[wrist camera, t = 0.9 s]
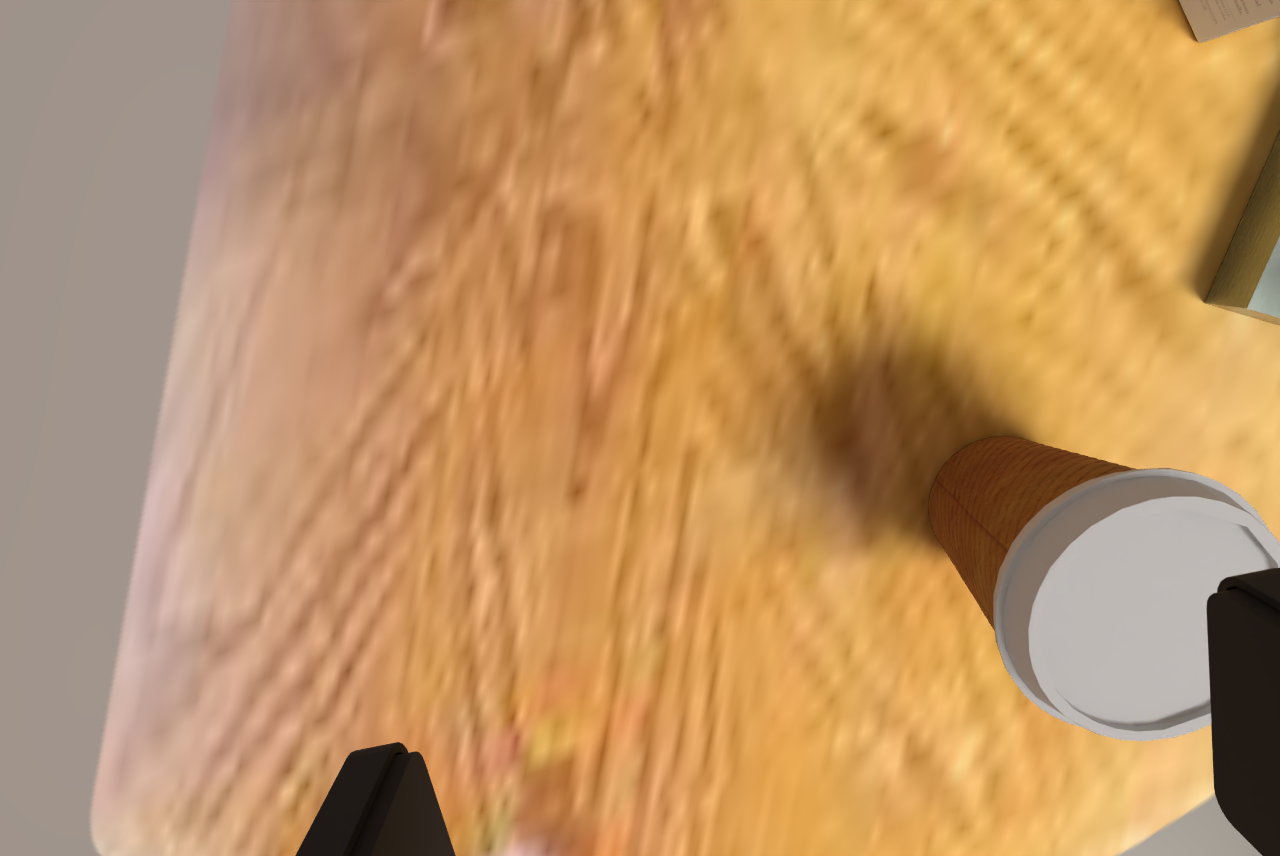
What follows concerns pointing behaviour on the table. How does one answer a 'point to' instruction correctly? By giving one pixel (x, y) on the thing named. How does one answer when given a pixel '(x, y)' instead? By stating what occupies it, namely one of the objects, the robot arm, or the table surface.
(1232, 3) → the skincare box
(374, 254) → the table surface
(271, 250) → the table surface
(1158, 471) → the disposable coffee cup
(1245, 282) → the divided tray with ball
